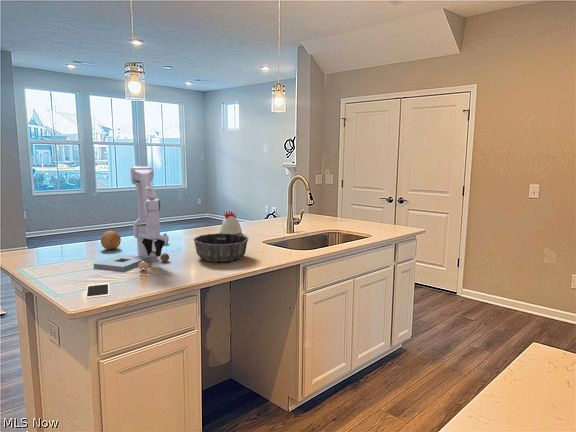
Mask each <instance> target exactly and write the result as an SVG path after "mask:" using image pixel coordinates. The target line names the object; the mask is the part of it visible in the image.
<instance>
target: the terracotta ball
mask: <svg viewBox="0 0 576 432" xmlns="http://www.w3.org/2000/svg"><path fill="white" fill-rule="evenodd" d="M137 268H138V269H139V270H140V271H142V270H141V269H143V268H144V269H146V270H148V268H149V264H148V262H145V261H142V262H140V263H139V265H138V266H137Z"/></svg>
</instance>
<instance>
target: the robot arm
mask: <svg viewBox="0 0 576 432" xmlns="http://www.w3.org/2000/svg"><path fill="white" fill-rule="evenodd" d="M154 173H155V172H154V168H153V166H151V165H150V166H134V165H133V166H131V168H130V181H131V183H132V185H135V188H136V197H137V211H138V218H137V219H136V220H135V221H134V222H133V225H132V228H133V229H132V231H133V233H132V234H133V237H134V238H135V239H136V244H137V248H136V249H137V253H136V254H133V256H143V257H150V252H151V251H156V256H157V257H158V258H159V257H160V256H161V255H162V249H163V248H164V245H165V244H164V243H165V242H166V241H168V242H169V240H170V239H169V238H170V237H169V236H168V235H167V236H163V234H161V229H160V228H161V227H160V226H161V225H160V224H161V223H160V212H161V208H162V207H161V205H162V203H161V201H160V199H159V197H157V194H156V189H154V187H152V181H153V178H154ZM156 240H157V241H156Z"/></svg>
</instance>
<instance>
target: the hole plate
mask: <svg viewBox="0 0 576 432" xmlns="http://www.w3.org/2000/svg"><path fill="white" fill-rule="evenodd" d="M150 260H151V258H150V257H143V256H134V254H133V255H131V254H123V253H122V254H118V255H115V256H113V257H109V258H106V259H103V260H100V261H97V262H94V263H93V269H99V270H101V269H102V270H110V271H116V272H117V271H119V272H126V271H128V270H131V269H134V268H136V267H138V265H139V263H140V262H142V261H145V262H147V263H149V262H150Z"/></svg>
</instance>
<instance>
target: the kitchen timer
mask: <svg viewBox="0 0 576 432" xmlns="http://www.w3.org/2000/svg"><path fill="white" fill-rule="evenodd" d="M223 215H224V219H223V221H222V222H221V225H220V228H219V233H223V234H227V233H229V234H239V235H242V234H243V233H242V232H243V231H242V228H241V223H240V222H239V220H238V219H237V216H238V215H237V213H235V212H233V210H229V211H225V213H223ZM242 236H243V235H242Z"/></svg>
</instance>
